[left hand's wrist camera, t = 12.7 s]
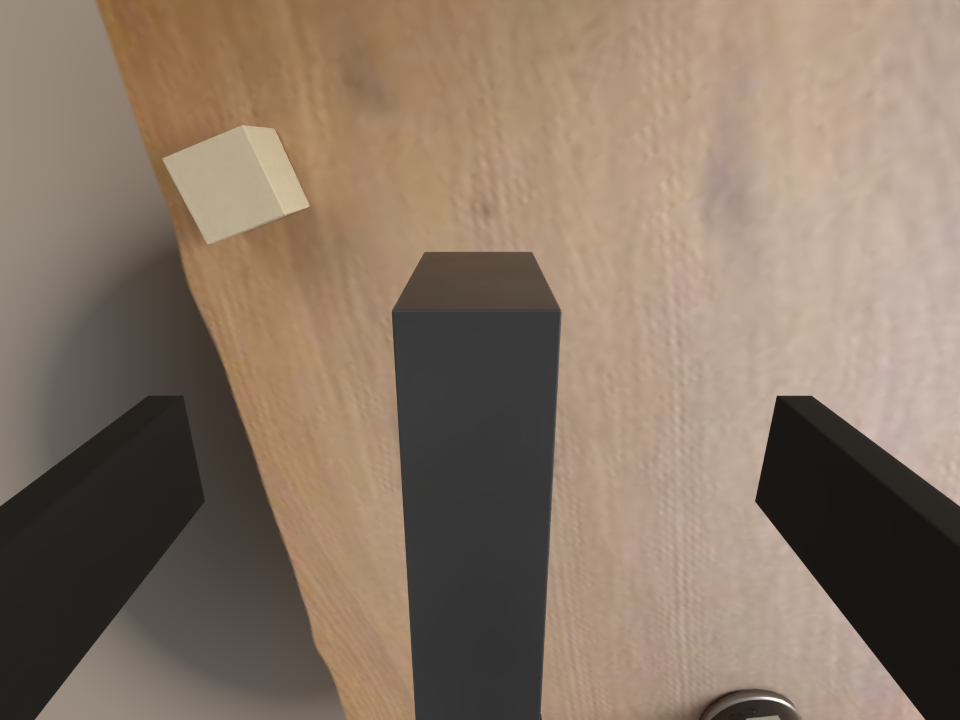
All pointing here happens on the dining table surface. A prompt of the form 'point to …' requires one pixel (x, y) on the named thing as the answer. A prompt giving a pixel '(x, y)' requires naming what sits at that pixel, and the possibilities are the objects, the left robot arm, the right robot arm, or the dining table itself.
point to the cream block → (236, 182)
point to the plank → (477, 478)
